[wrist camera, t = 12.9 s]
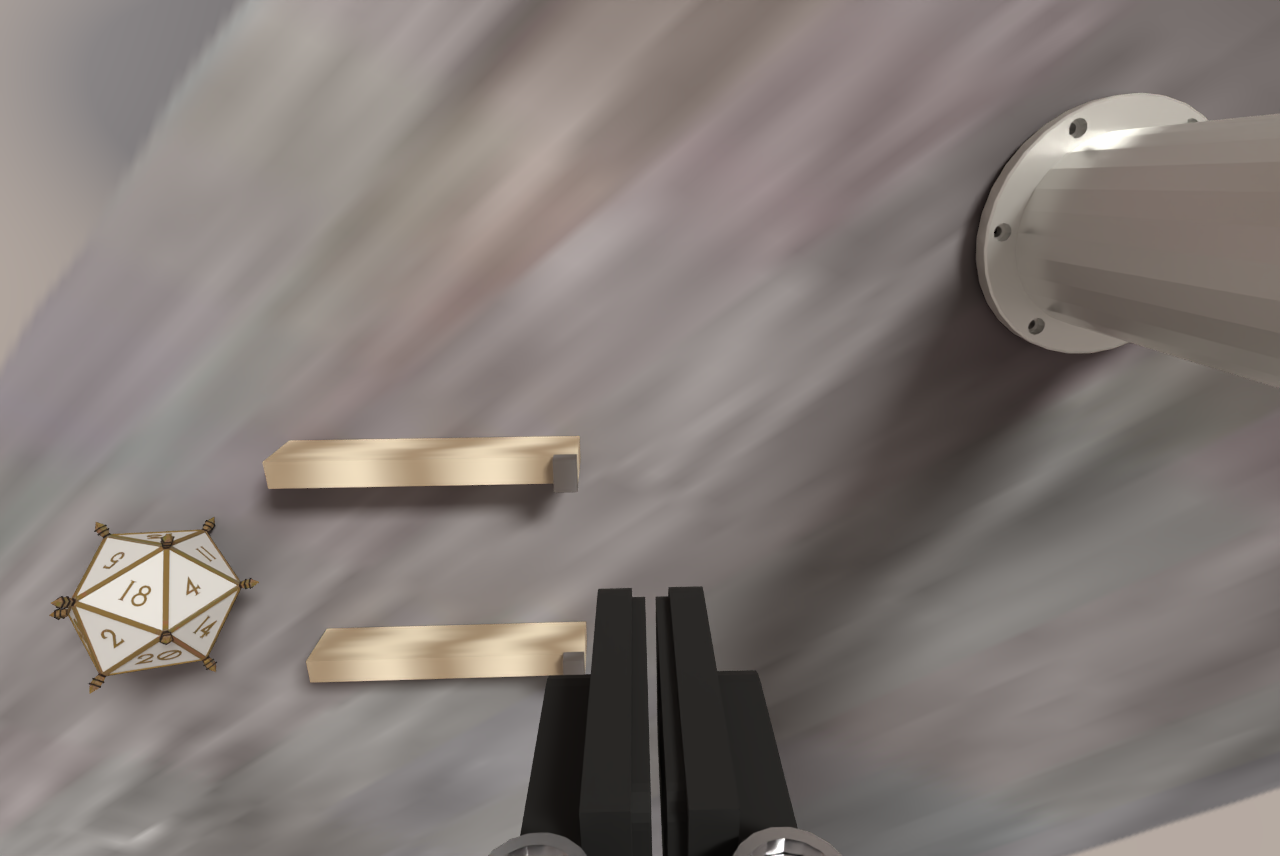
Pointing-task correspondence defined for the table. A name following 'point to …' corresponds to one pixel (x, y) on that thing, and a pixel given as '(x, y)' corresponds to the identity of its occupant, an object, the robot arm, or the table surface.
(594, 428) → the table surface
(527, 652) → the parallel beige rails
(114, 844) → the table surface
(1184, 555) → the table surface
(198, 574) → the game die
